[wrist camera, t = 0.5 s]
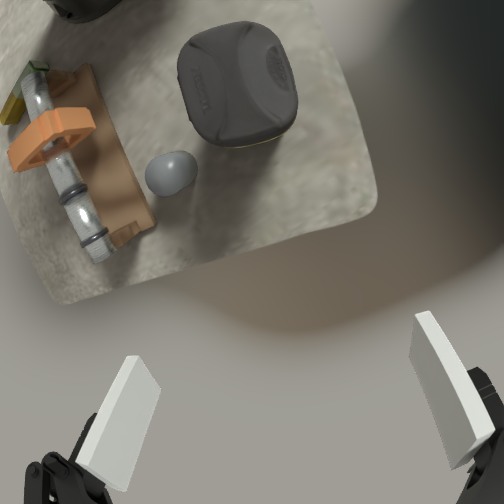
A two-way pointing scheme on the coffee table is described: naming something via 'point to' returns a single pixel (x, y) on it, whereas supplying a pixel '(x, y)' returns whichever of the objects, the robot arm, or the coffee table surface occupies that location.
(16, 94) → the medication box
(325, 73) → the coffee table surface
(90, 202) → the pipe
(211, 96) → the coffee jar
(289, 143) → the coffee table surface
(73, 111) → the ring
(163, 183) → the gray egg
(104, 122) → the stand
